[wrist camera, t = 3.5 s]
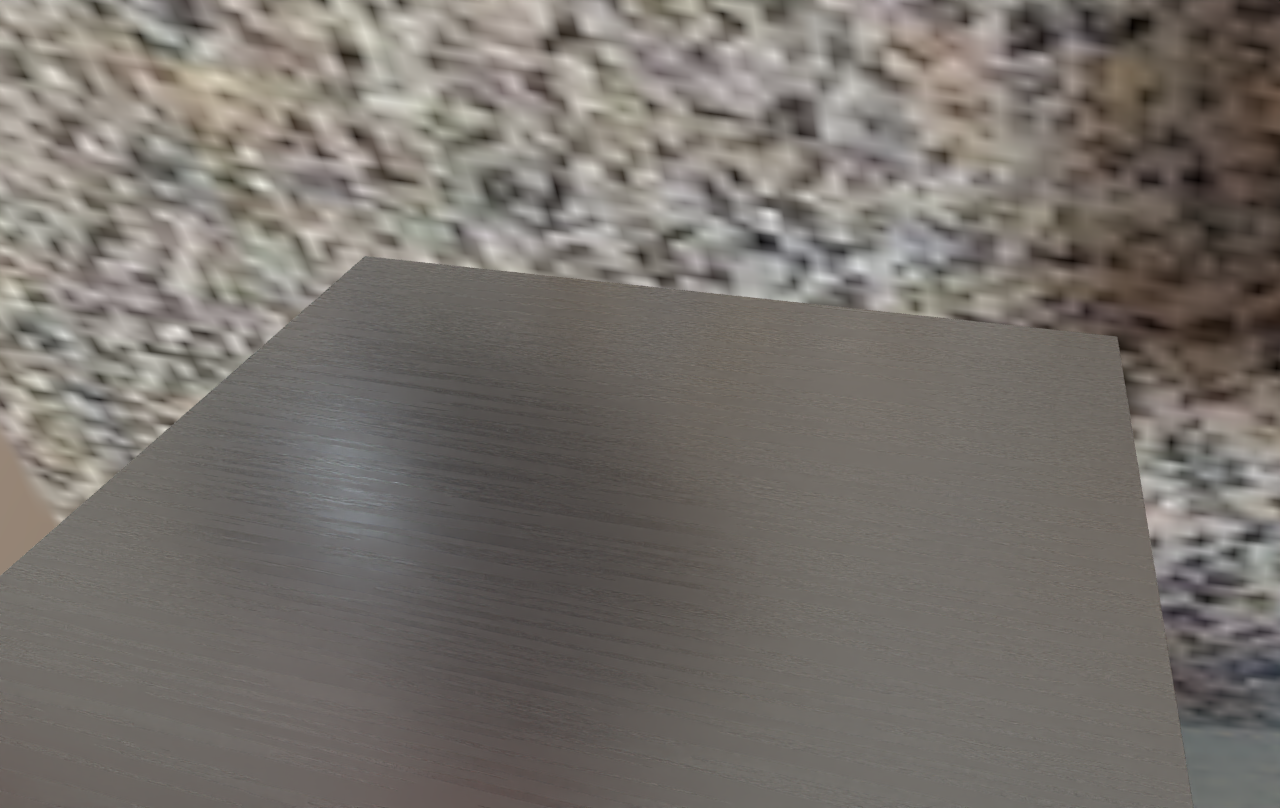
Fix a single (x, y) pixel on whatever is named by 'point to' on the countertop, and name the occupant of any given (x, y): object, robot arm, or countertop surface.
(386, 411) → the brushed metal cube
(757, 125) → the countertop surface
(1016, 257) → the countertop surface
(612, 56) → the countertop surface
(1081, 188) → the countertop surface
